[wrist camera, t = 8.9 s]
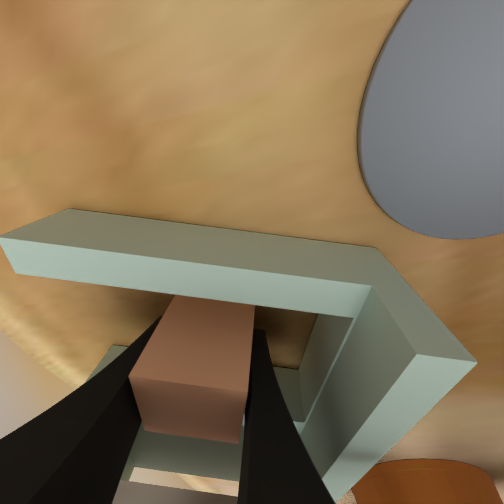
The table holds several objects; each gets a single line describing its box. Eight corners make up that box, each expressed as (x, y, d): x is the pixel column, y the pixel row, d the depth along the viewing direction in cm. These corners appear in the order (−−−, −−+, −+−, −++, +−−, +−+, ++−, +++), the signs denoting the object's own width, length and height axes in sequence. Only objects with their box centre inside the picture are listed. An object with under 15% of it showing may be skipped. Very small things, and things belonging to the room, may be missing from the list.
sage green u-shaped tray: (376, 247, 10) (478, 362, 5) (290, 441, 20) (296, 541, 15) (68, 208, 10) (-120, 282, 5) (137, 420, 20) (94, 512, 15)
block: (256, 293, 12) (247, 392, 7) (248, 342, 14) (238, 444, 9) (181, 283, 12) (128, 376, 7) (185, 334, 14) (145, 430, 9)
